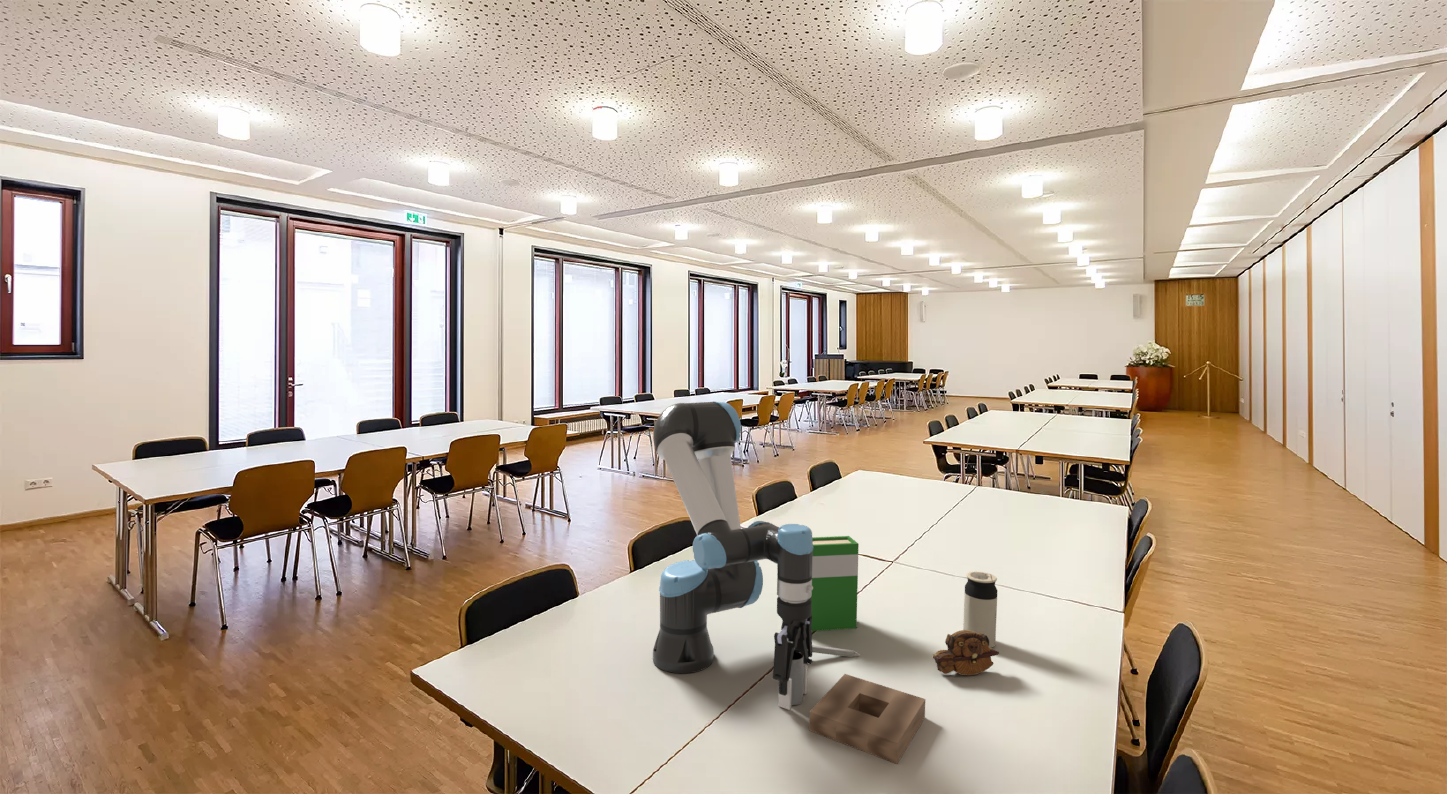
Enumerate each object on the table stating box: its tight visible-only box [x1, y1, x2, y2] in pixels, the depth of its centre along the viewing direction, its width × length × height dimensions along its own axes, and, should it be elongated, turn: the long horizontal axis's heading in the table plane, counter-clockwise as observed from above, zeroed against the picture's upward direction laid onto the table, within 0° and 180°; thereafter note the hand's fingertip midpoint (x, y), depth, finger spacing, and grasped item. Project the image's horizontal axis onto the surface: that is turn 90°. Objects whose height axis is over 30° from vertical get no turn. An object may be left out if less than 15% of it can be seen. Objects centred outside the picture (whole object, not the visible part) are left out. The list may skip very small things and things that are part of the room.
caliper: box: [787, 641, 861, 658], centre depth 155 cm, size 20×1×6 cm, turn 99°
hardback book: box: [810, 535, 860, 632], centre depth 174 cm, size 18×7×24 cm, turn 99°
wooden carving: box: [932, 629, 1000, 676], centre depth 148 cm, size 16×5×10 cm, turn 105°
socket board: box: [808, 673, 926, 764], centre depth 127 cm, size 18×18×4 cm
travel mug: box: [962, 570, 998, 648], centre depth 164 cm, size 8×8×18 cm
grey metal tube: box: [790, 650, 804, 706], centre depth 136 cm, size 4×4×10 cm
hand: (792, 699), depth 136 cm, fingers open, 7 cm apart
